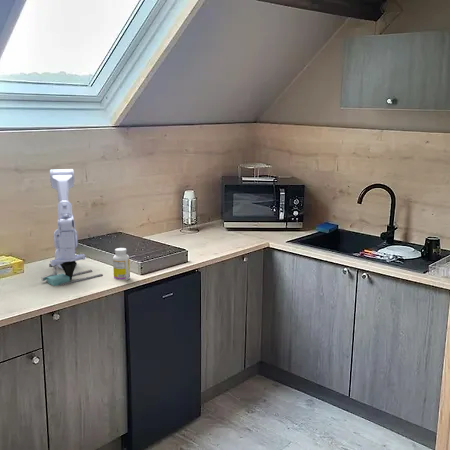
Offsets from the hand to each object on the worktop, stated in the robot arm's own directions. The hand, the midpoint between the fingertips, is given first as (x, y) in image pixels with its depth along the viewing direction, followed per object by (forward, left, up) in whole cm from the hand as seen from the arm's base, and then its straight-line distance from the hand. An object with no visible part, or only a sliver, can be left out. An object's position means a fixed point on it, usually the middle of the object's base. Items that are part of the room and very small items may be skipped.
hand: (69, 279), depth 234 cm
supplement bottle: (+11, +18, -1) cm, 21 cm away
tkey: (-5, -5, 0) cm, 7 cm away
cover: (0, -5, -1) cm, 5 cm away
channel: (0, +3, -1) cm, 3 cm away
